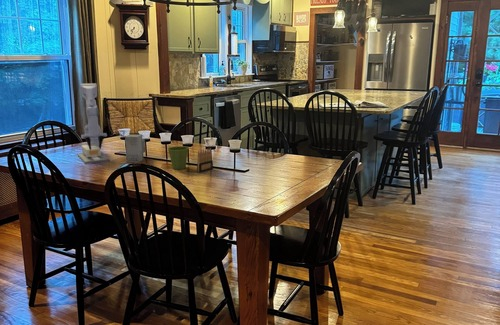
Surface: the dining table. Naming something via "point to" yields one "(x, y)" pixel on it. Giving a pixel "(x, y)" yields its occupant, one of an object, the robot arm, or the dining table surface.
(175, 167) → the plant pot
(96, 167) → the dining table surface
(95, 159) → the rail board
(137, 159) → the circuit breaker
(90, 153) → the module
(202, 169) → the ammunition clip
